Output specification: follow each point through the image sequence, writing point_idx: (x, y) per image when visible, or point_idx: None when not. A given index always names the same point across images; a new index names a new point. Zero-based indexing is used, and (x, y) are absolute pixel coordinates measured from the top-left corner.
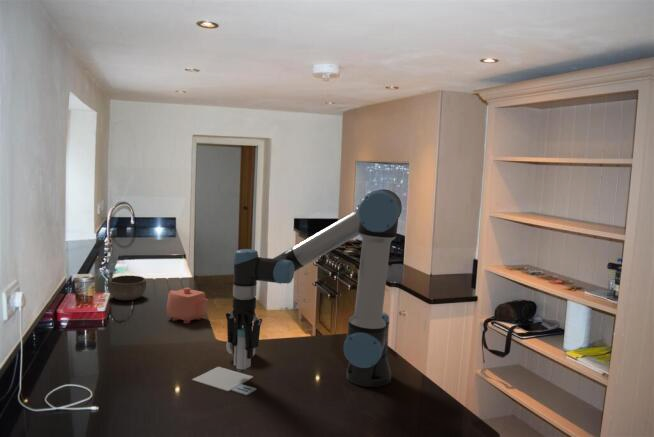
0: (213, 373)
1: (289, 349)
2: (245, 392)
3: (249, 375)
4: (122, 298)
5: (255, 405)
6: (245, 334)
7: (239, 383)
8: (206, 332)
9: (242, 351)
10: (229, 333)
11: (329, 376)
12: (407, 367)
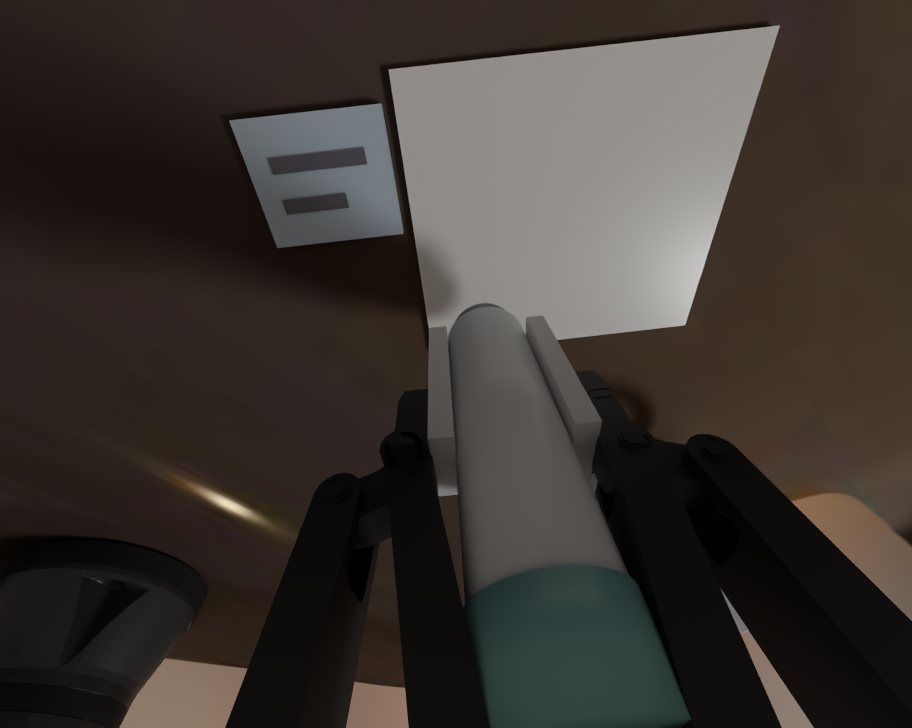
0: (664, 235)
1: None
2: (265, 141)
3: None
4: None
5: (7, 8)
6: (464, 653)
7: (421, 233)
8: (888, 513)
9: (474, 409)
10: (793, 553)
11: (211, 530)
12: None
